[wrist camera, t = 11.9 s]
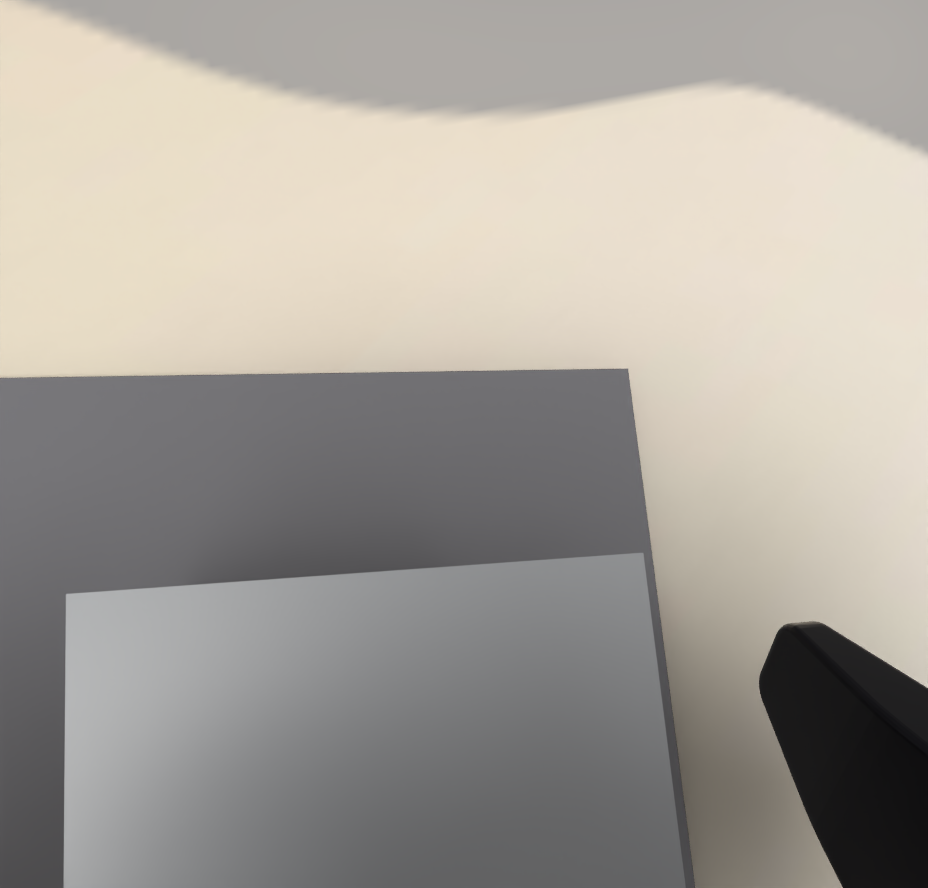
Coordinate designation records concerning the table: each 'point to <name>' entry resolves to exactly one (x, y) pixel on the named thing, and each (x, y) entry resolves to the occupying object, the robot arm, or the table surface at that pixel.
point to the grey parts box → (371, 732)
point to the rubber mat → (282, 513)
